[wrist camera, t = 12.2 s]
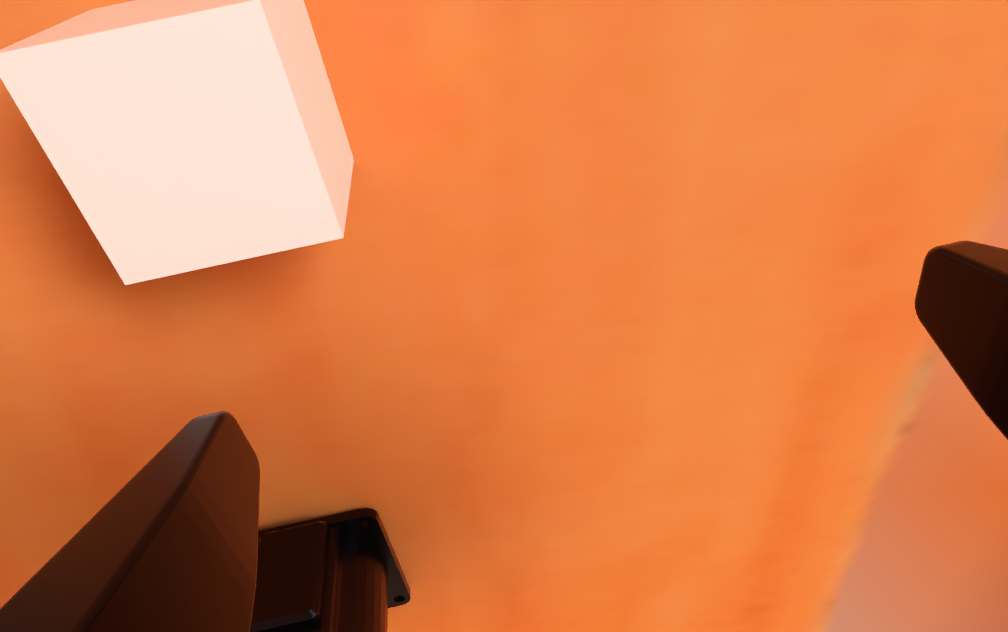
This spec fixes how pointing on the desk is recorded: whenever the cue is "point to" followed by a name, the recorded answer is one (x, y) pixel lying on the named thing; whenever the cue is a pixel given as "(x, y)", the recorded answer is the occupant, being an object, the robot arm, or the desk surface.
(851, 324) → the desk surface
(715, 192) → the desk surface
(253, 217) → the off-white block
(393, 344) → the desk surface
